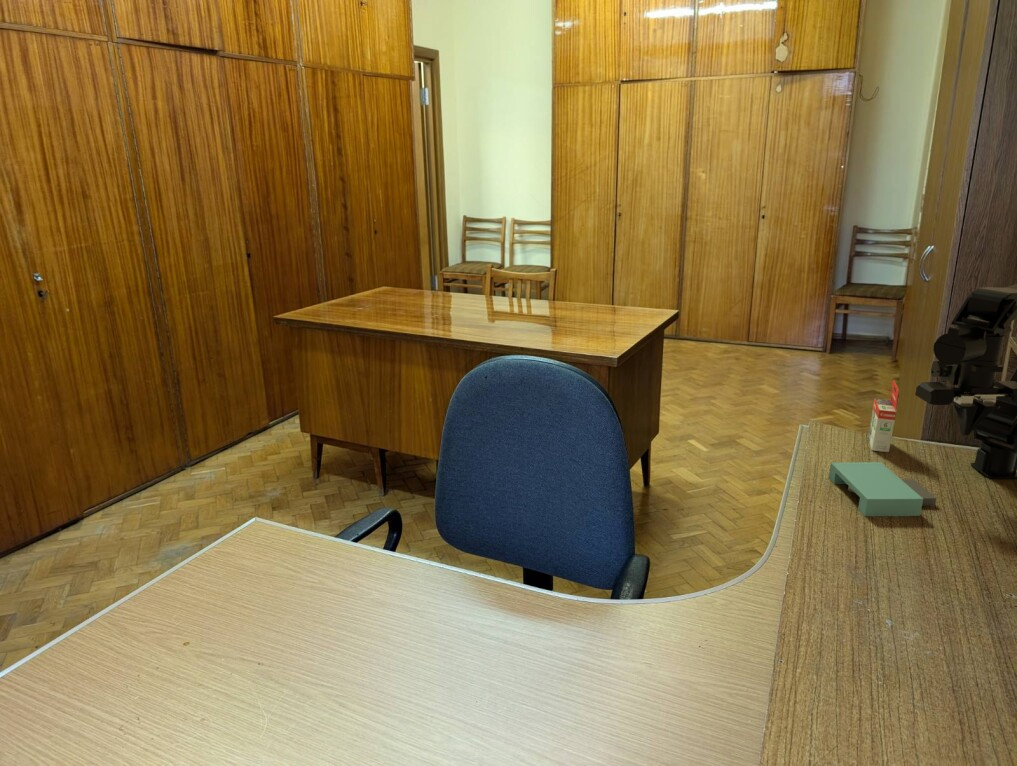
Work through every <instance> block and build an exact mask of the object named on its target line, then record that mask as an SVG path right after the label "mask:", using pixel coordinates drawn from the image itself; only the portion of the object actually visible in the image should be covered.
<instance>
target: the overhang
mask: <svg viewBox="0 0 1017 766" xmlns="http://www.w3.org/2000/svg"><path fill="white" fill-rule="evenodd" d="M828 479H829V480H830V482H831V483H832V484H833V485H840V484H841V485H842V484H843V485H848V489H847V490H848V491H849V492H852V493H855V494H856V495H857V496H858V497H859V500H858V501H859V502H858V506H857V507H858V509H857V511H859V512H860V513H861V514H862V515H863V517H920V516H921V513H922V508H923V505H922V503H923V498H922V497H921V496H920V495H918V494H917V493H916V492H915V491H914V490H913V489H911V488H910V487H909V486H908V485H907V484H906V483H904V482H903V481H902V480H901V479H902V478H900V477H898V476H897V475H896V474H895V473H894V472H893V471H892V470H891V469H889V468H888V466H886V465H884V464H883V463H882V462H881V461H879V462H877V461H876V462H875V461H873V462H872V461H870V462H869V461H868V462H867V461H865V462H864V461H863V462H854V461H853V462H849V461H848V462H830V466H829V473H828Z"/></svg>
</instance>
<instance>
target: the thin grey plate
mask: <svg viewBox="0 0 1017 766" xmlns="http://www.w3.org/2000/svg"><path fill="white" fill-rule="evenodd" d="M900 479H901V480H902V481H903V482H904V483H906V484H907V485H908V486H909V487H910V488H911V489H913V490H914V491H915V492H916V493H917V494H918V495H920V496H921V497H922V498H923V503H922V506H936V503H937V497H936V496H935V495H933V494H932V493H931V492H930V491H929V490H927V489H926V488H925V487H924V486H923V485H921V484H920V483H919V482H918V481H917V480H916V479H915V478H900Z"/></svg>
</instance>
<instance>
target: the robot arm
mask: <svg viewBox="0 0 1017 766" xmlns="http://www.w3.org/2000/svg"><path fill="white" fill-rule="evenodd" d="M1016 319H1017V283H1015V284H1013V285H1009V286H1006V287H994V286H993V287H992V286H991V287H990V286H986V287H978V288H976V289H974V290H972V291H971V293H970V294H969V295H968V296H967V297H966V298H965V300H964V302H963V304H962V305H961V307H960V308H959V310H958V312H957V313H956V315H955V316H954V318H953V320H952V321H951V325H952V326H949V327H948V329H947V333H944V334H941V335H940V336H939V337H938V338H936V340H935V342H934V343H933V354H934V356H935V358H936V359H937V360H935V361H932V365H931V368H930V375H931V377H932V378H939V381H921V382H920V383H919V384H918V385H917V386H916V389H915V396H916V397H918V398H920V399H921V400H923V401H924V402H926V403H927V404H929V405H934V406H949V405H950V404H952V406H953V407H954V410H955V414H956V416H957V421H958V426H959V431H960V434H961V435H963V436H964V437H965V436H970V434H971V433H972V432H973V439H974V440H976V441H980V442H981V443H980V446H979V448H977V451H976V456H975V459H974V460H975V461H974V462H971V463H970V467H971V466H972V468H974V469H976V470H977V471H978V472H980V473H981V474H983V475H984V476H986V477H987V478H988V479H1017V367H1015V369H1014V371H1013V373H1012V375H1011V377H1010V379H1009V380H1007V381H1006V380H1004V381H1002V380H1001V381H999V380H998V381H996V378H997V373H1003V370H1004V366H1003V365H1001V364H1000V359H1001V354H1002V351H1003V345H1004V341H1005V337H1006V334H1007V333H1011V332H1012V327H1011V326H1010V324H1011V323H1012V322H1013V321H1015V320H1016ZM945 382H948V383H949V384H950V385H952V386H956V387H950V386H948V385H946V384H944V383H945Z"/></svg>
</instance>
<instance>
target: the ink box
mask: <svg viewBox="0 0 1017 766" xmlns="http://www.w3.org/2000/svg"><path fill="white" fill-rule="evenodd" d="M900 392H901V391H900V389H899V387H898V385H897V382H896V380H895V379H893V380H892V386H891V392H890V393H891V395H890V399H887V398H874V399H873V405H872V412H871V418H870V423H869V428H868V434H869V435H868V434H867V440H868V442H869V446H870V449H871V451H872V452H873V451H874V452H881V453H889V452H890V448H891V442H892V437H893V432H894V428H895V427H894V426H895V423H896V417H897V416H896V415H897V412H898V411H897V410H898V407H899V400H900Z"/></svg>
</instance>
